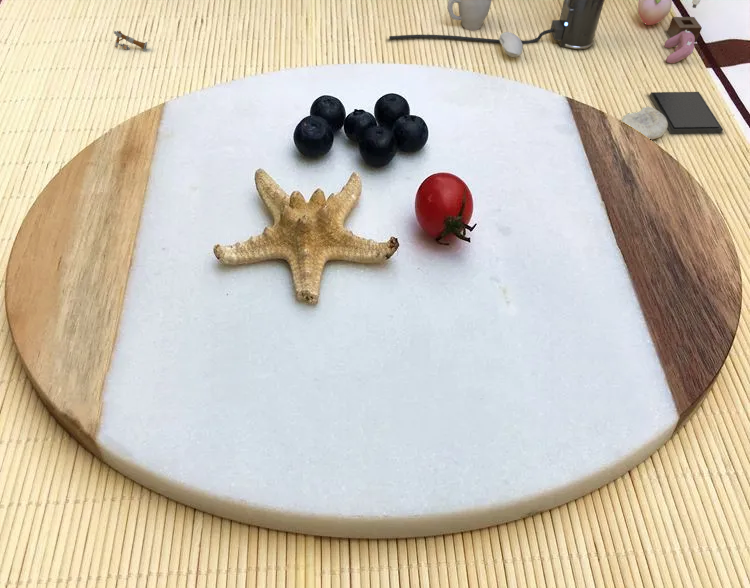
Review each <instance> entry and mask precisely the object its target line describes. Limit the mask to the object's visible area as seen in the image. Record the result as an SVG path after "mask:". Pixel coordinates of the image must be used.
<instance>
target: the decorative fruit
mask: <svg viewBox="0 0 750 588" xmlns="http://www.w3.org/2000/svg"><path fill="white" fill-rule="evenodd" d="M672 2H673V1H672V0H638V2H637V12H638V15H639V18H640V20H641V21H642V23H643V24H645V23H646V24H645V25H646V26H652V25H656V24H658V23H660V22H662V21H663V20H664V19H665V18H667V16H668V15H669V13H670V12H671V9H672V6H673V5H672V4H673V3H672Z"/></svg>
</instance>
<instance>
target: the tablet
mask: <svg viewBox="0 0 750 588" xmlns="http://www.w3.org/2000/svg"><path fill="white" fill-rule="evenodd" d="M649 98H650V100H651V101H652V103H653V105H654V106H655V109H656V110H658V111H659V112H660V113H662V114H663V115H664V116H665V118H666V120H667V123H668V126H667V131H668V132H669V133H670V134H671V135H684V134H685V135H686V134H687V135H688V134H689V135H690V134H691V135H692V134H722V132H723V130H724V128H723V127H722V126H721V124H720V122H719V121H718V119H717V118H716V116H715V115H714V113H713V112H712V110H711V109H710V107H709V105H708V104H707V102H706V101H705V99H704V97H703V96H702V95H701V93H700V92H699V91H663V92H662V91H658V92H657V91H656V92H655V91H654V92H653V91H651V92H650V94H649Z"/></svg>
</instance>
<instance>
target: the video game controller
mask: <svg viewBox="0 0 750 588" xmlns="http://www.w3.org/2000/svg"><path fill="white" fill-rule="evenodd" d="M694 42H695V37H694V35H693V34H692V32H690V31H687V30H685V31H682V32H680V33H679V34H677V35H675V36H673V37H670V38H667V39H666V40H665V42H664V43H663V45H664V47H665V48H666V49H671V48H674V52H672V53H669V55H668V56H667V57H666V59H665V61H666V63H667V64H675V63H678V62H680V61H683V60H684V59H686V58H689V56H691V55H692V54H693V53H694V49H695V47H696V46H695V43H694Z"/></svg>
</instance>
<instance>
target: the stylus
mask: <svg viewBox="0 0 750 588" xmlns="http://www.w3.org/2000/svg"><path fill="white" fill-rule="evenodd" d="M700 3H701V0H692V1H691V4H692V6H691V7H692V9H696V8H697V6H698V5H700Z"/></svg>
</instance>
